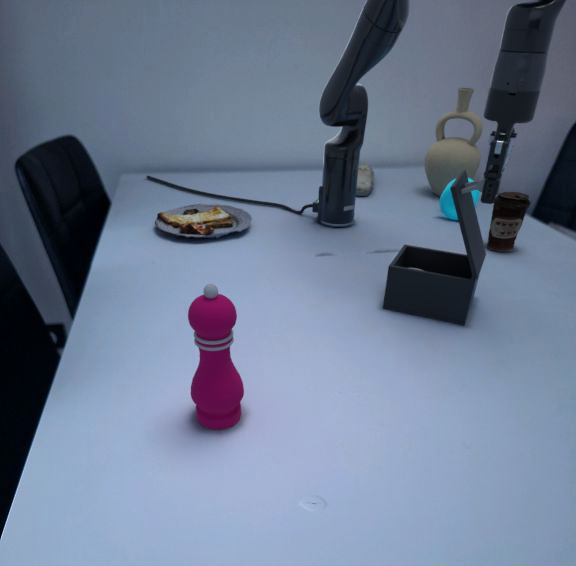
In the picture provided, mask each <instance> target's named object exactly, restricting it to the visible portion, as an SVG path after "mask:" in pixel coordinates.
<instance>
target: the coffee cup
mask: <svg viewBox="0 0 576 566" xmlns="http://www.w3.org/2000/svg"><path fill="white" fill-rule="evenodd" d="M529 198H530V195H529V194H527V193H523V192H517V191H503V192H498V193H497V195H496V197H495V201H494V203H493V204H492V205H493V206H492V212H491V218H490V225H489V230H488V237H487V244H486V247H487V248H488V249H490V250H492V251H497V252H505V253H506V252H512V251H514V248H515V241H516V240H517V237H518V235H519V232H520V230H521V228H522V226H523V223H524V219H525V216H526V214H527V211H528V209H529V208H530V206H531V204H532V203H531V200H530V199H529Z"/></svg>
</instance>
